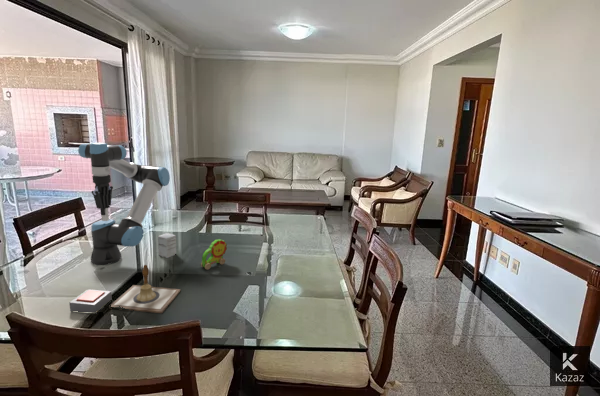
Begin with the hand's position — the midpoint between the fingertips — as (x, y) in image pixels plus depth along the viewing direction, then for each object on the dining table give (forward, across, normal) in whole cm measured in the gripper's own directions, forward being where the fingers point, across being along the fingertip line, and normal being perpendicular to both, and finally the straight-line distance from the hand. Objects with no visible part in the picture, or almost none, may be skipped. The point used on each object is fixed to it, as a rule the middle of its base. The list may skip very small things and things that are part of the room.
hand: (105, 220), depth 164 cm
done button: (+27, -29, -11) cm, 41 cm away
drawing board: (+29, -20, -31) cm, 47 cm away
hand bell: (+29, -20, -31) cm, 47 cm away
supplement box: (+30, +28, -18) cm, 45 cm away
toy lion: (+30, +20, -50) cm, 62 cm away
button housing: (+29, -29, -11) cm, 43 cm away
